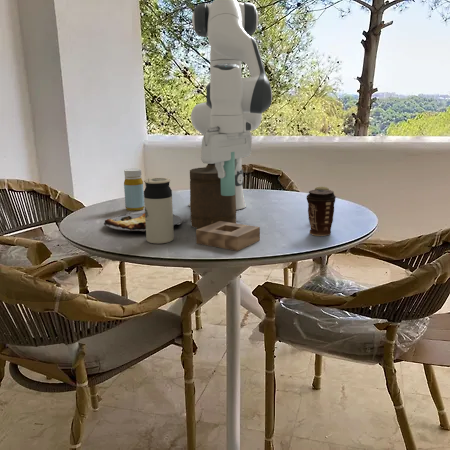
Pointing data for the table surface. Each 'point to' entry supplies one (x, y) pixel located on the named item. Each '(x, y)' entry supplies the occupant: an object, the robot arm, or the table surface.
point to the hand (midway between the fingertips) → (227, 176)
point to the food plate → (132, 222)
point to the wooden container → (209, 198)
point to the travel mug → (158, 210)
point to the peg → (229, 177)
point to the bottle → (133, 190)
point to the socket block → (228, 235)
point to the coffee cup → (320, 211)
